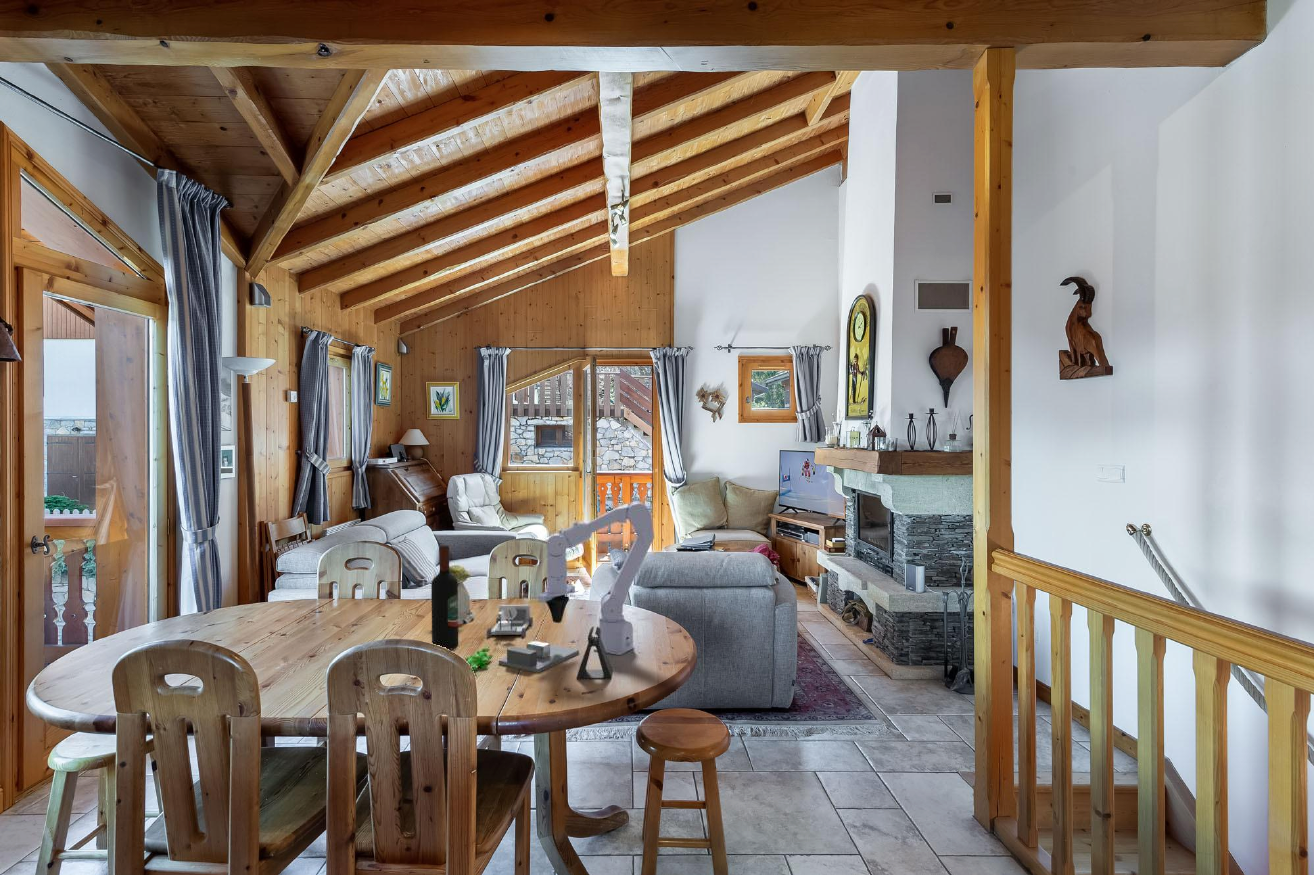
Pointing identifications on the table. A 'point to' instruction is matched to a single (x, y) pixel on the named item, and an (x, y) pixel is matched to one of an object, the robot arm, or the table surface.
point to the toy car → (512, 620)
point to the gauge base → (547, 660)
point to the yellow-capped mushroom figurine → (462, 594)
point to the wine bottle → (444, 604)
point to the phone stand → (603, 658)
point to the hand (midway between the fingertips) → (557, 622)
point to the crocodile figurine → (479, 659)
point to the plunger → (539, 648)
